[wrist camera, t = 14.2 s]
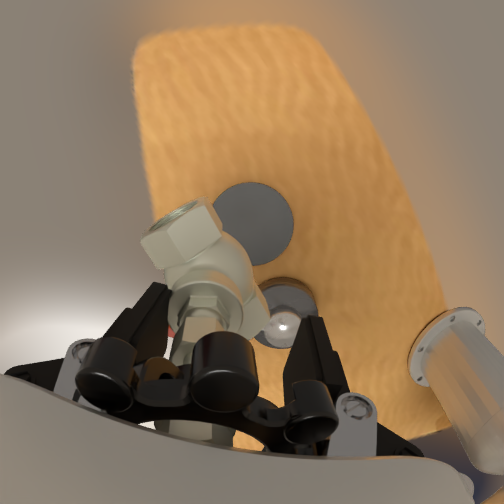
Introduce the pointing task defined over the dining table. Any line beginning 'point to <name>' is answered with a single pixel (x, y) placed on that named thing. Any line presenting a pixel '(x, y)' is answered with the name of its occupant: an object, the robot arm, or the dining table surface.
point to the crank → (277, 326)
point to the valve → (204, 349)
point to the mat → (256, 220)
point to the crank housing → (286, 300)
